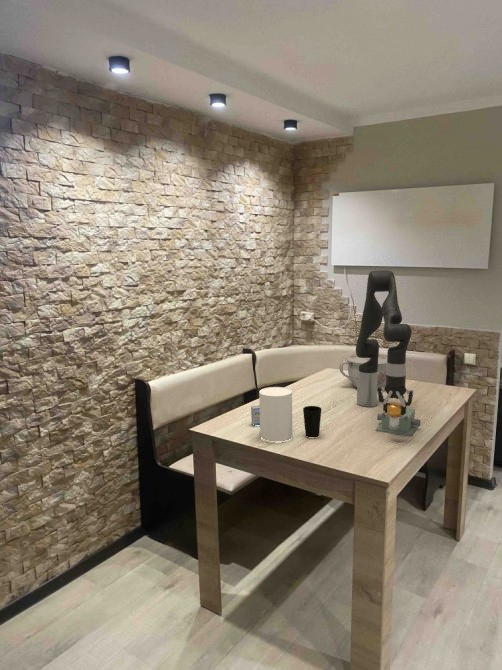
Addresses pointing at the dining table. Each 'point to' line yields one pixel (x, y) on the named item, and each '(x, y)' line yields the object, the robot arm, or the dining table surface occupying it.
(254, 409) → the medicine box
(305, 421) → the cup
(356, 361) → the chamber pot
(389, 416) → the bar
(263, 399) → the canister
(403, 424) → the grey-green knobbed device
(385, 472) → the dining table surface
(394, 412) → the orange domed cylinder
